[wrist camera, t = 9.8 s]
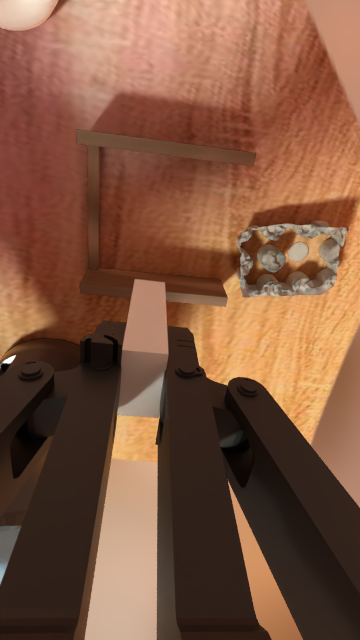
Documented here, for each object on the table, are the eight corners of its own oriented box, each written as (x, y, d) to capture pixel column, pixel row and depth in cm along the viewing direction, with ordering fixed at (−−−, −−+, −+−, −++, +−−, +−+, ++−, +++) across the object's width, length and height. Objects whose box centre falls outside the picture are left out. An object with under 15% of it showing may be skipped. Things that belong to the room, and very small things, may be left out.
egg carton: (336, 216, 36) (355, 225, 32) (323, 283, 39) (340, 297, 35) (235, 219, 35) (244, 228, 32) (232, 286, 39) (239, 301, 35)
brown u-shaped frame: (219, 287, 38) (225, 306, 34) (90, 275, 37) (79, 293, 33) (243, 151, 32) (256, 153, 28) (89, 131, 31) (76, 129, 26)
